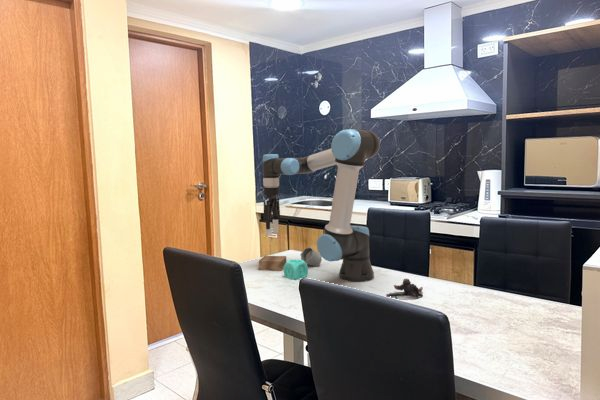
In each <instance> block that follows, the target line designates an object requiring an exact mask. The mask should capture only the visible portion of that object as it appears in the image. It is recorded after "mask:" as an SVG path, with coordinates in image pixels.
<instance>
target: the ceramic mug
mask: <svg viewBox="0 0 600 400" xmlns="http://www.w3.org/2000/svg"><path fill="white" fill-rule="evenodd" d="M299 255H300V260H303V261H305V263H306V264H307V265H309V266H311V267H318V266H319V265H320V264H321V263H322V259H323V258H322V257H321V255H320V253H319V252H318V251H317V250H315V249H314V248H313V247H309V246H308V247H306V248H305V249H303V251H301V253H300V254H299Z"/></svg>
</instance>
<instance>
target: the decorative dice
mask: <svg viewBox="0 0 600 400" xmlns="http://www.w3.org/2000/svg"><path fill="white" fill-rule="evenodd" d="M282 272H283V275H284V277H285V278H286V279H290V280H293V281H294V280H295V281H296V280H301V279H300V278H302V279H304V278H303V277H306V278H307V276H308V274H309V267H308V264H307V263H305V261H303V260H301V259H297V258H296V259H295V258H294V259H289V260H286V263H285V265H284V269H283V270H282Z"/></svg>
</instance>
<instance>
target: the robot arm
mask: <svg viewBox="0 0 600 400" xmlns="http://www.w3.org/2000/svg"><path fill="white" fill-rule="evenodd" d="M331 141H332V142H331V146H330V148H329V149H325V150H321V151H320V152H316V153H313V154H310V155H307V156H304V157H281V158H279V154H278V153H275V154H274V153H269V154H268V153H267V154H263V155H262V177H263V178H262V179H263V180H262V183H263V188H262V189H263V196H266V197H265V200H264V199H263V202H262V203H263V217H262V218H263V219H262V221H263V223H265V236H267V237H272V236H273V234H279V220H281V209H280V197H278V196H279V195H280V187H279V186H280V175H283V176H284V175H286V176H293V175H300V174H313V173H316V171H317V170H318V171H319V170H323V169H325V168H329V167H332V166H337V170H336V177H335V182H334V183H335V184H334V190H333V196H332V204H331V209H330V215H329V216H330V217H329V222H328V223H327V224H326V225H325V226H324V230H323V231H324V232H323V233H322V234H321V235H320V236H319V237H318V238H317V240H316V248H317V252H318V253H319V254H320V255H321V257H322V259H324V260H325V261H327V262H331V263H332V262H338V261H340V260H342V262H341V265H340V269H339V274H338V275H339V279H340V280H342V281H345V282H350V283H351V282H353V283H356V282H357V283H359V282H360V283H362V282H363V283H364V282H369V281H371V280H373V279H374V278H375V275H374V274H375V273H374V270H373V267H372V264H371V260H370V237H371V236H370V229H369V228H368V227H367V226H362V225H351V221H352V217H353V216H352V215H353V209H354V203H355V198H356V197H355V196H356V193H357V192H356V191H357V186H358V180H359V173H360V170H361V169H362V168H364V166H365V163H366V162H365V161H366V160H368V159H372V158H373V157H375V156H376V155H377V154H378V152H379V151H380V148H381V143H380V139H379V137H378V135H377V134H376V133H375V132H373V131H371V130H367V129H366V130H365V129H364V130H363V129H362V130H361V129H354V128H353V129H351V128H349V129H343V130H339V132H337V133H336V134H335V135H334V137H333V139H332V140H331ZM271 221H272V222H271Z"/></svg>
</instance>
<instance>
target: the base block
mask: <svg viewBox="0 0 600 400" xmlns="http://www.w3.org/2000/svg"><path fill="white" fill-rule="evenodd" d="M286 262H287V256H286V255H264V256H263V257H261V258H260V259H259V260H258V271H263V272H264V271H265V272H266V271H267V272H269V271H270V272H283V270H284V265H285V263H286Z"/></svg>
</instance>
